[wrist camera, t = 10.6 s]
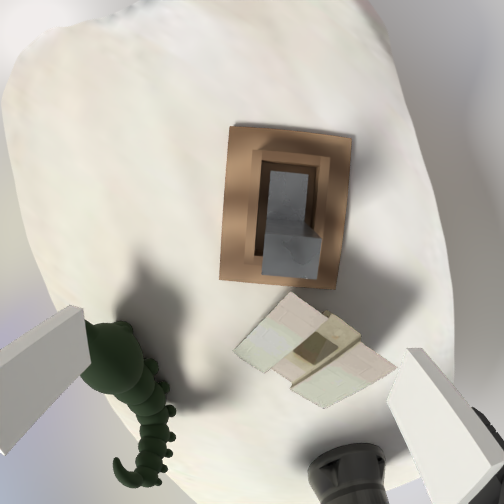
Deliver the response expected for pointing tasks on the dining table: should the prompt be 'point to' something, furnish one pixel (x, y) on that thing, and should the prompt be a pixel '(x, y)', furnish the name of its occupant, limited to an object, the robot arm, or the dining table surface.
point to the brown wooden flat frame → (257, 192)
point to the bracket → (289, 230)
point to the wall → (313, 352)
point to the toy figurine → (132, 396)
